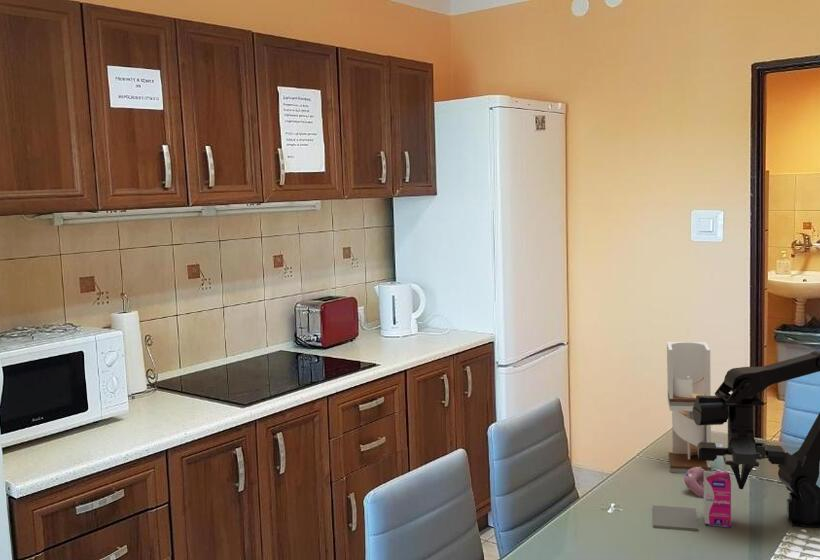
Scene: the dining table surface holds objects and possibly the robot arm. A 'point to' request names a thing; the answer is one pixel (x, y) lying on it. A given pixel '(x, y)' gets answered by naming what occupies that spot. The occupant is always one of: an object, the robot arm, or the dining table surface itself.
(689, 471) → the video game controller
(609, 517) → the dining table surface
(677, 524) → the rubber mat
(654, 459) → the dining table surface
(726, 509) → the supplement box
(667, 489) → the dining table surface
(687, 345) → the display case
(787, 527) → the dining table surface
